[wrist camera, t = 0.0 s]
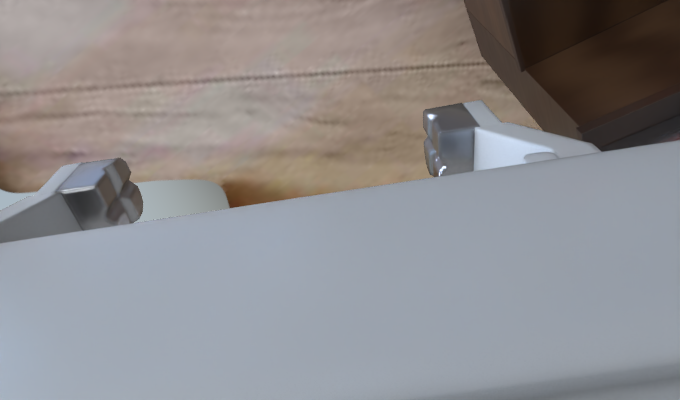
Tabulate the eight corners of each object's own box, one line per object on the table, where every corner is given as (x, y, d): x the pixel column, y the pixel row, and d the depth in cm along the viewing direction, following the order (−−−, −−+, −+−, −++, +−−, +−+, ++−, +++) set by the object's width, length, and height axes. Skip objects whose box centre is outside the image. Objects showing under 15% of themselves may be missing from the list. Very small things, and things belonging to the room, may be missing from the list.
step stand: (582, -139, 41) (859, -111, 21) (600, -2, 49) (814, 116, 28) (441, -58, 44) (562, 35, 24) (479, 58, 52) (594, 201, 32)
